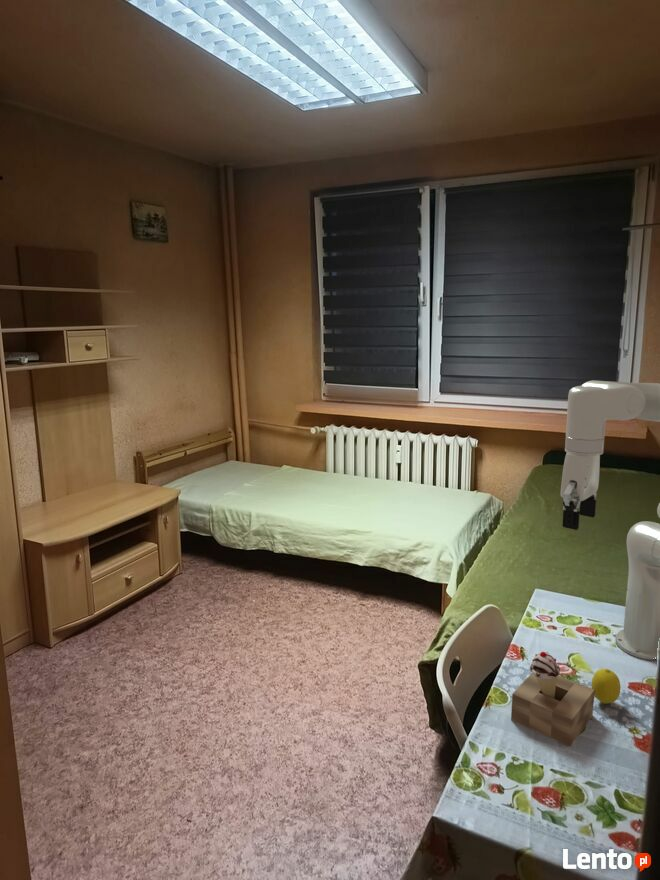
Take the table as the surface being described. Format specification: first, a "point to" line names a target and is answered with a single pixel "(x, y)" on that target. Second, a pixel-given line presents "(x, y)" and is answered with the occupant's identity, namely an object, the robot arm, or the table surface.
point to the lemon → (606, 686)
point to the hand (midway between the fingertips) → (578, 521)
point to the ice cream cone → (545, 672)
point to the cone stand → (553, 708)
